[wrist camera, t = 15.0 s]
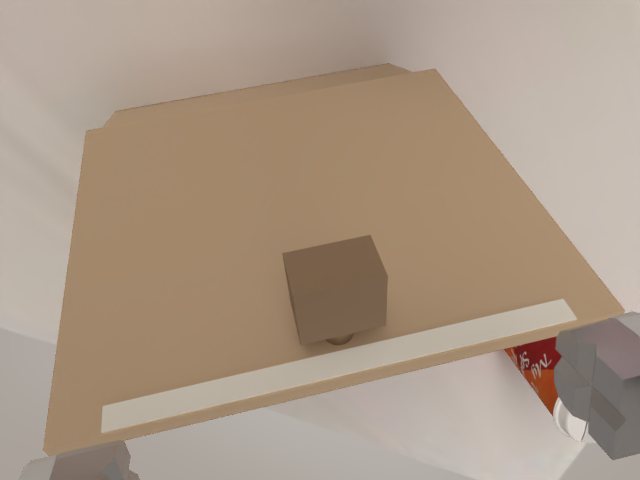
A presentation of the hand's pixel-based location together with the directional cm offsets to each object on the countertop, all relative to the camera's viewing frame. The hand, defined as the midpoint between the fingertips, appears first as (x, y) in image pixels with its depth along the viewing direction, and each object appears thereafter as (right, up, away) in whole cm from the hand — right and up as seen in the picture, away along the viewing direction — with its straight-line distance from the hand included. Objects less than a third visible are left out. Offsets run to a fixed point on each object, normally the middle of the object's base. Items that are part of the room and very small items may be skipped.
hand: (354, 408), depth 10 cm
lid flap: (-2, +5, +17) cm, 18 cm away
